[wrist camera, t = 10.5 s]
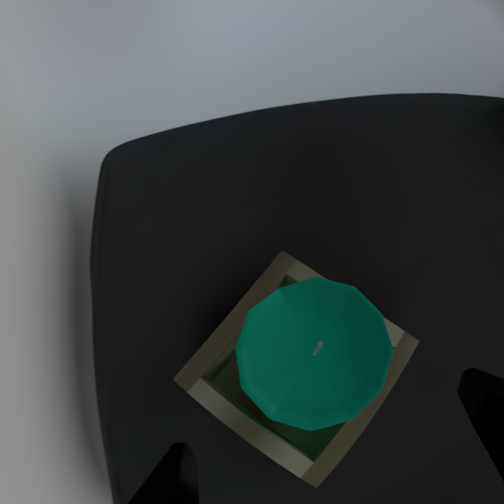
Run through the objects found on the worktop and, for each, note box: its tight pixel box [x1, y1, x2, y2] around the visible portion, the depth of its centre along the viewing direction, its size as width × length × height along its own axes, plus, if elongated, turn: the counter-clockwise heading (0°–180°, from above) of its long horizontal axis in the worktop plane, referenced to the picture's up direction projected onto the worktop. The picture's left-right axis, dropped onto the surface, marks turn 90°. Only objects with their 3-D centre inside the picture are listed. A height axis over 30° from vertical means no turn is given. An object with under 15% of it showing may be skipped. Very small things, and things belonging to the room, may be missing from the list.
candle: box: [235, 277, 394, 431], centre depth 15 cm, size 6×6×12 cm
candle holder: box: [173, 250, 419, 488], centre depth 19 cm, size 11×11×4 cm
